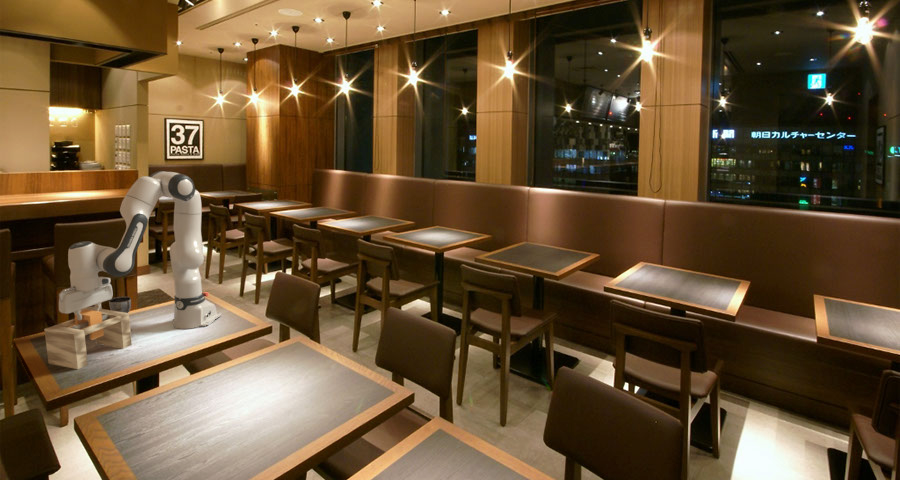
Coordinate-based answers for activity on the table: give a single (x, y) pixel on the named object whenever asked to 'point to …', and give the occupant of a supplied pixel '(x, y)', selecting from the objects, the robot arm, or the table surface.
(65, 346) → the shelf
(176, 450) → the table surface
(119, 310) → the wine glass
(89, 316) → the upright wooden block
